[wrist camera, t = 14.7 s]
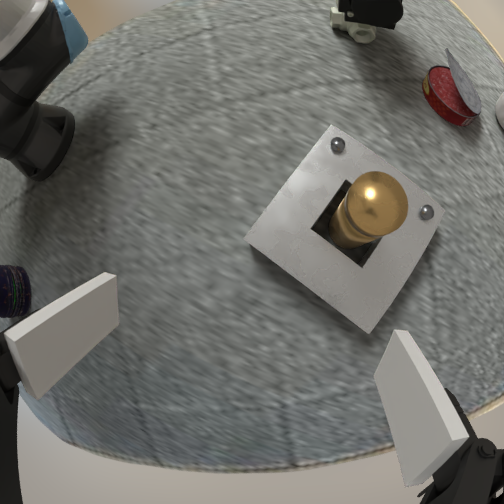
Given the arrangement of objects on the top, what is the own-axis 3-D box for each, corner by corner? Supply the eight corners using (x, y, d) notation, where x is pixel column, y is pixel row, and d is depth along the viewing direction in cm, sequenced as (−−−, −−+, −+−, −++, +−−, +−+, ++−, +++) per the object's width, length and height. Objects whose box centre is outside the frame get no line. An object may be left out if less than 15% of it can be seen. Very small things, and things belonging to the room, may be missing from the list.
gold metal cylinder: (320, 232, 30) (336, 207, 18) (343, 200, 30) (369, 158, 18) (353, 257, 29) (388, 247, 17) (375, 224, 29) (418, 197, 17)
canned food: (428, 89, 33) (453, 50, 24) (469, 130, 30) (499, 92, 21) (402, 88, 29) (432, 38, 20) (453, 138, 26) (492, 89, 17)
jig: (249, 242, 31) (242, 237, 27) (328, 138, 30) (331, 121, 26) (361, 328, 28) (370, 335, 24) (432, 216, 28) (448, 209, 24)
